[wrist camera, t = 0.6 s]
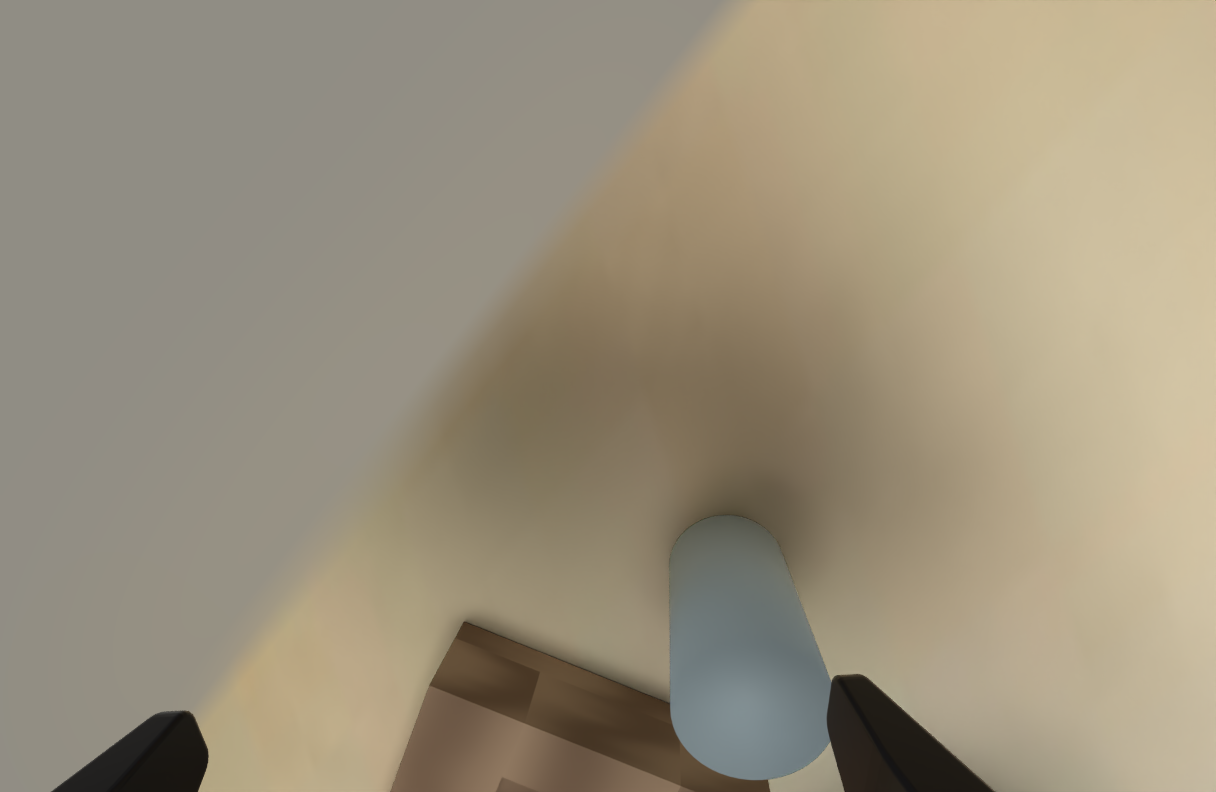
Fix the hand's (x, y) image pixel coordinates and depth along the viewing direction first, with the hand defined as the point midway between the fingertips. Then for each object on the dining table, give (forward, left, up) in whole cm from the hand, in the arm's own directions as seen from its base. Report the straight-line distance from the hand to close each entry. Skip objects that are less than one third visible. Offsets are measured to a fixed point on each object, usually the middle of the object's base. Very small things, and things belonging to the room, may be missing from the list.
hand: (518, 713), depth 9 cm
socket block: (-4, +14, -13) cm, 19 cm away
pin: (-6, +3, -13) cm, 14 cm away
